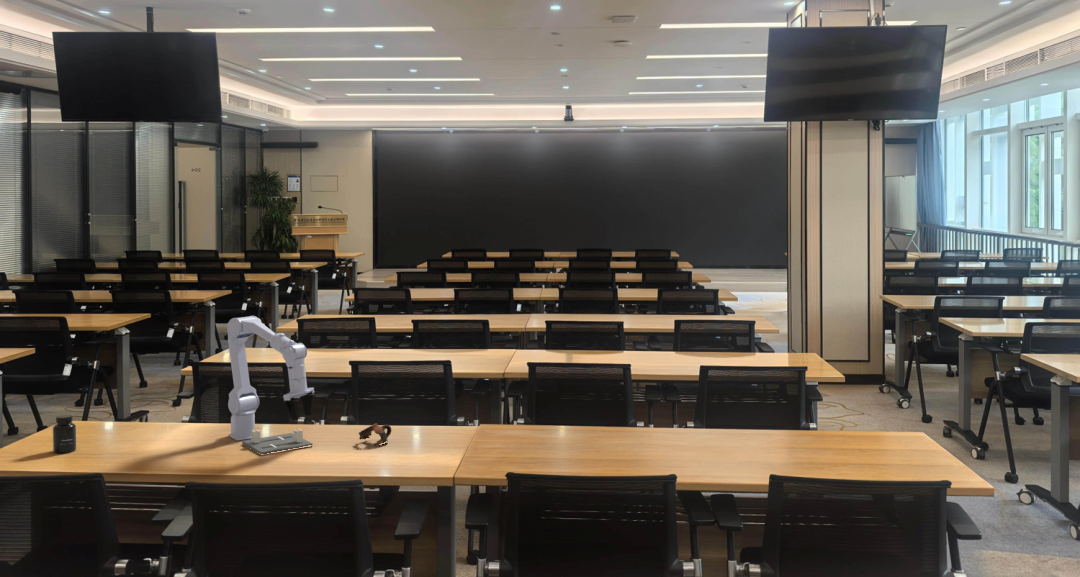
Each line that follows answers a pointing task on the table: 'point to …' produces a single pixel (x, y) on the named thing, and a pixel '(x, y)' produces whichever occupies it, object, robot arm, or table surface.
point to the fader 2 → (298, 435)
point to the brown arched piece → (377, 430)
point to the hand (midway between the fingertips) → (301, 417)
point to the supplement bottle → (64, 435)
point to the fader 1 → (255, 436)
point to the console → (275, 443)
